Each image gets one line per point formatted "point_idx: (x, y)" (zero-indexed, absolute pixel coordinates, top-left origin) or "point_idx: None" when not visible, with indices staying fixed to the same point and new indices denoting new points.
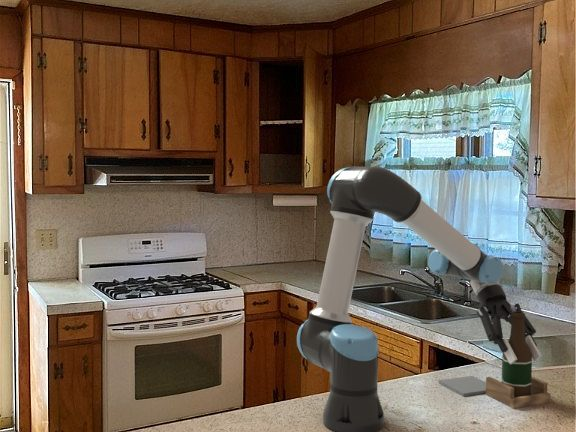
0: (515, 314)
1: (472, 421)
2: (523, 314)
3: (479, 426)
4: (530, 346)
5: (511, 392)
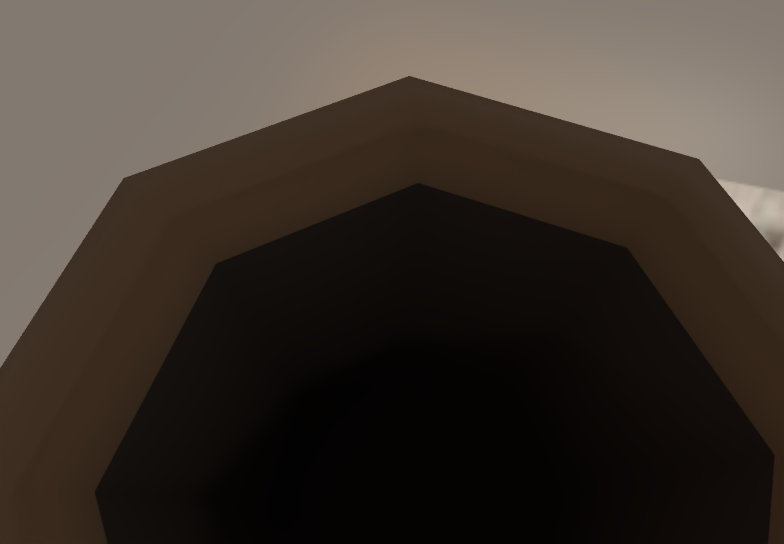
0: (749, 266)
1: (780, 251)
2: (269, 148)
3: (761, 197)
4: None
5: None
